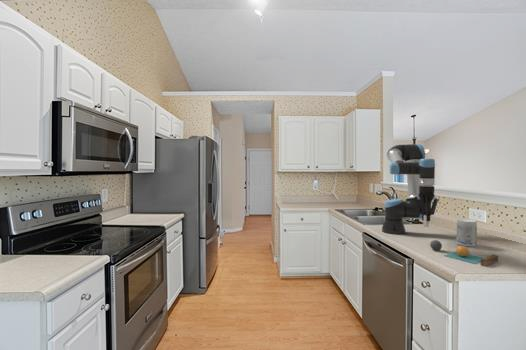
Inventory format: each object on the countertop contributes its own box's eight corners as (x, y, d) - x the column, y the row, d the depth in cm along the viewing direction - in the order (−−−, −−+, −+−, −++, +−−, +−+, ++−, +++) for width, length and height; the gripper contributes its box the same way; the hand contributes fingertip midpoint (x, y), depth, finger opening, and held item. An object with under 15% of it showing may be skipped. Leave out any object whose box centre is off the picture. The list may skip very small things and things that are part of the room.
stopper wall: (480, 265, 127) (480, 258, 127) (493, 260, 134) (493, 254, 133) (485, 266, 125) (485, 260, 125) (498, 261, 132) (498, 255, 132)
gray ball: (436, 241, 147) (438, 251, 146) (443, 239, 149) (444, 249, 149) (427, 240, 152) (428, 250, 151) (433, 239, 154) (435, 248, 154)
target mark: (443, 255, 141) (443, 255, 141) (457, 251, 148) (457, 251, 148) (475, 264, 129) (475, 263, 129) (488, 259, 135) (488, 258, 135)
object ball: (462, 245, 137) (467, 256, 135) (467, 244, 140) (473, 254, 138) (451, 247, 141) (456, 258, 139) (457, 246, 144) (462, 256, 142)
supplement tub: (464, 242, 166) (465, 218, 166) (480, 246, 157) (481, 221, 157) (452, 243, 164) (452, 219, 163) (467, 247, 155) (468, 222, 154)
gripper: (411, 185, 158) (411, 225, 159) (434, 186, 147) (434, 229, 148) (419, 184, 162) (418, 223, 163) (442, 186, 151) (441, 227, 152)
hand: (426, 226), depth 156 cm, fingers closed
